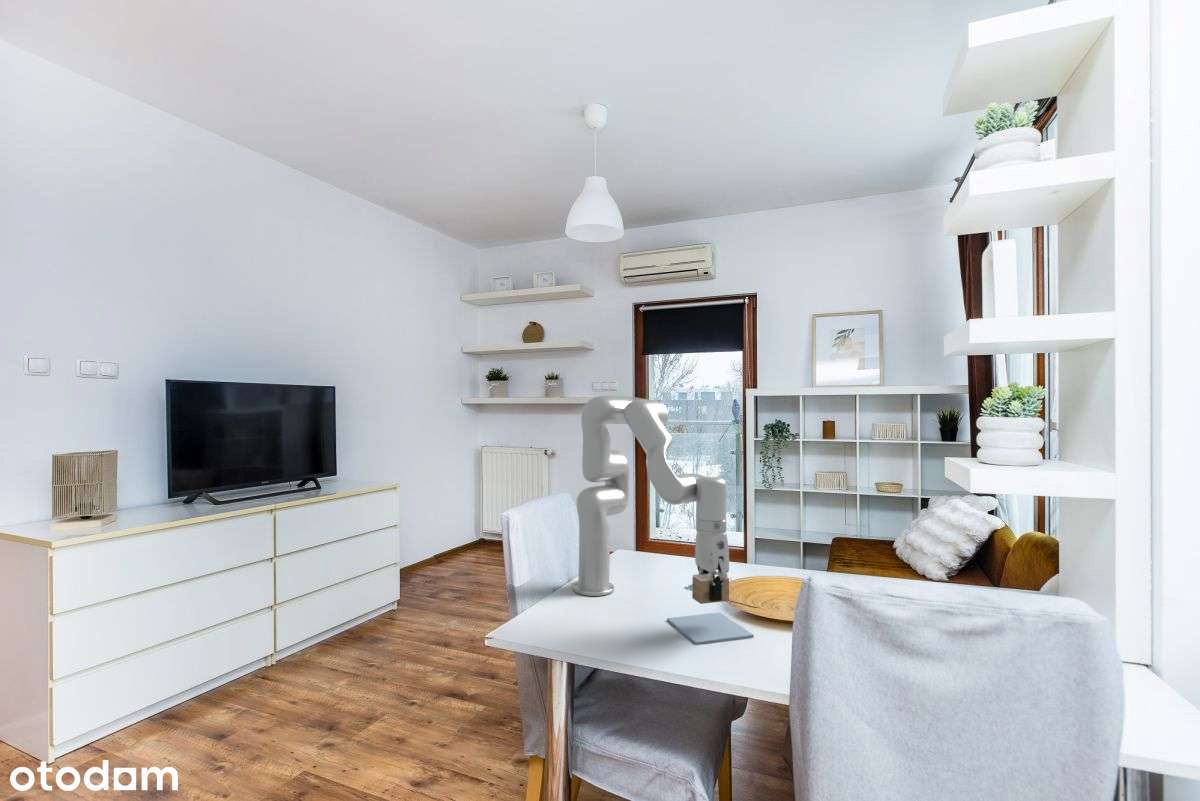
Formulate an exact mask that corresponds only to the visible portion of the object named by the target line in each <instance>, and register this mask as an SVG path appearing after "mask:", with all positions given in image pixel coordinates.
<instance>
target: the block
mask: <svg viewBox="0 0 1200 801" xmlns="http://www.w3.org/2000/svg"><path fill="white" fill-rule="evenodd" d="M717 576H718V575H715V578H716V577H717ZM728 578H729V577H728V576H727V578H726V579H724V581H723V585H722V599H721V600H718V601H710V585H712V584H711V577H710V573H709V574H699V573H698V574H693V575H692V583H691V584H692V590H691V591H692V594H691V596H692V598H691V599H693V600H694V601H696V602H697V603H698V604H701V605H702V604H711V603H714V604H715V603H720V602H721V603H722V602H730V601H729V579H730V578H729V579H728Z"/></svg>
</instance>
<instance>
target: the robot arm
mask: <svg viewBox="0 0 1200 801" xmlns="http://www.w3.org/2000/svg"><path fill="white" fill-rule="evenodd" d="M580 418H581V421H580V422H581V423H580V424H581V428H582V456H581V457H582V458H581V460H582V462H581V463H582V466H581V467H582V475H583V478H584V479H585V481H588V482H590V483H601V482H604V485H595V486H590V487H586V488H583V490H581V491H580V492H579V493H578V495H577V498H576V511H577V516H578V526H579V527H578V529H579V530H578V578H577V579H578V580H577V582H575V583H573V586H572V589H573V590H572V591H573V592H575V593H576V594H580V595H583V596H589V597H590V596H591V597H599V596H600V597H601V596H607V595H610V594H612V593H614V591H615V585H614V584H613V583H611V582H610V567H611V566H610V562H611V560H610V559H611V558H610V557H611V555H610V554H611V531H610V526H609V523H608V522H607V519H606V517H608V516H609V517H610V516H614V515H619V514H621V513H623V512H624V511H625V510H626V509H627V507H628V503H629V495H630V494H629V493H630V465H629V461H628V459H627V457H626V455H625V454H624V453H623V452H622V451H620V450H615V449H611V435H610V432H609V430H608V428H607V426H606V425H611V424H612V425H620V424H621V425H622V424H623V425H625V424H626V425H628V427H629V429H630V430H631V432H632V433H633V435H634V436H635V438H636V440H637V441H638V443H639V444H640V445H641V447H642V449H643V451H644V453H645V454H646V460H645V463H646V464H645V466H646V472H647V476H648V478H649V481H650V483H651V485H653V486H652V487H653V488H654V489H655V491H656V493H657V494H658V495H659V496H660V498H661V499H662V500H663V501H664V502H666V503H667V504H670V505H672V506H675V505H681V504H688V503H694V502H696V519H695V521H696V522H695V524H696V525H695V526H696V527H695V529H696V530H695V532H696V536H695V549H694V561H695V565H696V567H697V571H698V574H709V573H710V577H711V584H712V585H710V601H718V600H721V599H722V585H723V581H724V579H726V578H727V577H728V573H729V571H730V552H729V551H730V549H729V541H728V536H727V481H726V480H725V479H724V478H722V477H715V476H705V475H702V474H697V473H683V474H675V472H674V470H672V467H671V466H670V465H669V463H668V460H667V458H666V452H667V451H668V450H669V449H670V448H671V446H672V445H673V441H674V440H673V437H672V435H671V434H670V432H669V431H668V429H667V427H666V426H665V425H666V424H667V423H668V421H669V410H668V408H667V406H666V405H665V404H664V403H663V402H662V401H659V400H657V399H648V398H641V397H634V396H633V397H632V396H624V395H623V396H622V395H621V396H620V395H619V396H618V395H599V396H594V397H592V398H591V399H588V401H587V402H586V403H585V404H584V407H583V408H582V411H581V417H580ZM715 575H718V576H717V577H716V578H715Z"/></svg>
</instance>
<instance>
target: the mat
mask: <svg viewBox="0 0 1200 801" xmlns="http://www.w3.org/2000/svg"><path fill="white" fill-rule="evenodd" d="M666 620H667V622H668V623H670V624H671V625H672V626H673V627H674V628H676V630H678V631H679V632H680V633H682V635H684V637H686V638H687V639H689V640H690V641H691V642H692V643H694V645H696V646H697V645H704V644H705V645H706V644H713V643H719V642H727V641H728V642H729V641H736V640H743V639H751V637H752V638H754V637H755V636H754V635H755V634H753V633H752V632H750V631H749V630H747V629H746V628H745V627H743V626H741V625H740V624H738V623H737V622H735V621H734V620H732V619H731V618H729V617H728V616H726V615H725V614H723V613H722V612H711V613H702V614H701V613H700V614H693V615H686V616H683V615H682V616H675V617H667V618H666Z"/></svg>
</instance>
